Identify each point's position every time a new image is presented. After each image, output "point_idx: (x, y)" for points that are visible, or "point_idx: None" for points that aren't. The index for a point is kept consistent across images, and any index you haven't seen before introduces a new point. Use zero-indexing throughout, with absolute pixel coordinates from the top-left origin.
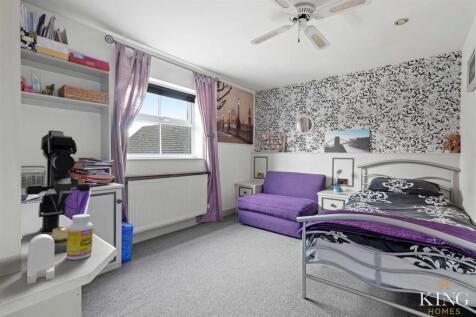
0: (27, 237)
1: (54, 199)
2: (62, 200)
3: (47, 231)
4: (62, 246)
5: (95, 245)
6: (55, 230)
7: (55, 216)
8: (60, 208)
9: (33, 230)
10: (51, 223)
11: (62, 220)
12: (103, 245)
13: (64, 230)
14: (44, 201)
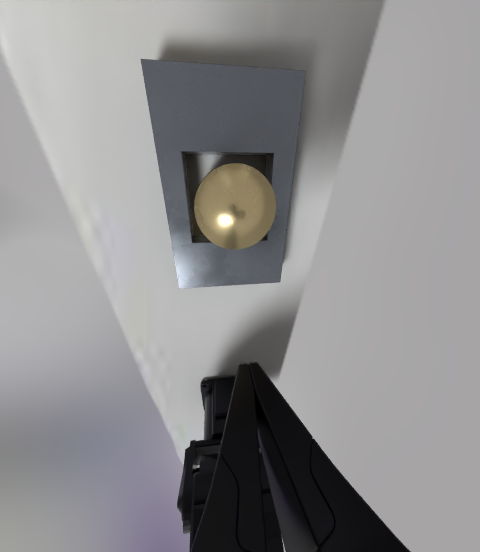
0: (284, 351)
1: (359, 520)
2: (239, 501)
3: (235, 377)
4: (236, 68)
5: (66, 65)
6: (267, 186)
7: (218, 431)
8: (239, 385)
9: None
10: (228, 401)
11: None
12: (8, 13)
13: (220, 166)
14: (274, 521)
